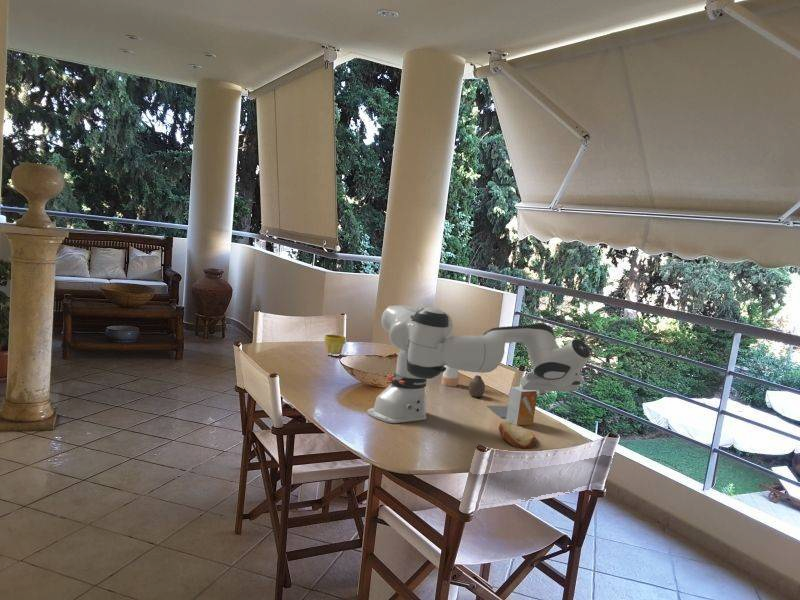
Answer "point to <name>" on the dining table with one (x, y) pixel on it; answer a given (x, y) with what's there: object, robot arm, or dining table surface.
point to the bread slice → (517, 436)
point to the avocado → (476, 387)
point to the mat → (499, 410)
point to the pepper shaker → (450, 376)
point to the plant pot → (334, 343)
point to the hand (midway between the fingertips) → (540, 393)
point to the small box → (521, 406)
